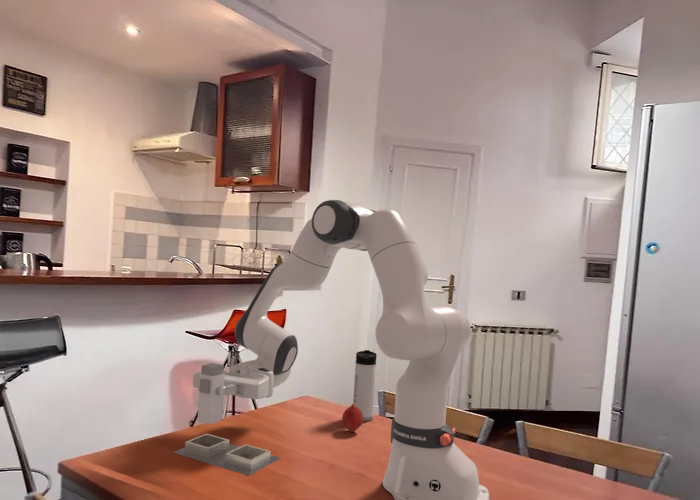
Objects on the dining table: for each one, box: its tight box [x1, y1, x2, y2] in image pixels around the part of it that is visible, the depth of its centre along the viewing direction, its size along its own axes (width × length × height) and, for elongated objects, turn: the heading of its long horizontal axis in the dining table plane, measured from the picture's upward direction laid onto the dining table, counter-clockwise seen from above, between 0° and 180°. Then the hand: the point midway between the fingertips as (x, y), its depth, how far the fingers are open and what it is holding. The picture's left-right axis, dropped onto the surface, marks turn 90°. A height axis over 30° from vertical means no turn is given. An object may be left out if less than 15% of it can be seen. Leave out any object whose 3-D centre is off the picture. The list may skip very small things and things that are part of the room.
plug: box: [197, 362, 225, 425], centre depth 126 cm, size 4×5×13 cm
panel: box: [172, 433, 281, 477], centre depth 124 cm, size 22×12×3 cm, turn 63°
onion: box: [342, 402, 364, 433], centre depth 148 cm, size 6×6×8 cm
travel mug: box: [352, 349, 378, 422], centre depth 161 cm, size 6×7×20 cm
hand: (209, 390), depth 126 cm, fingers closed on plug, 4 cm apart
